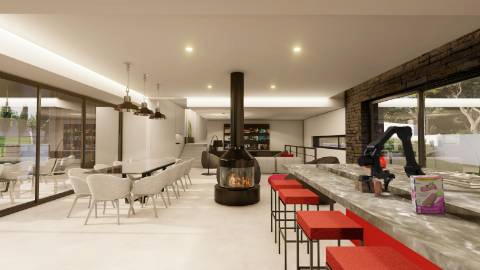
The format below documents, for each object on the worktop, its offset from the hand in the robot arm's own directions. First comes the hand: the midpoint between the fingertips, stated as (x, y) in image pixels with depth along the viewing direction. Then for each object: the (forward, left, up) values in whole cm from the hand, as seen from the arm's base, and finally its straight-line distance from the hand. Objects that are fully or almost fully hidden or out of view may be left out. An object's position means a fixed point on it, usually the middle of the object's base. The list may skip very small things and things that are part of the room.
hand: (377, 191), depth 151 cm
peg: (0, 0, -2) cm, 2 cm away
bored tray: (-11, -8, -2) cm, 14 cm away
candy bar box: (+27, +27, -2) cm, 38 cm away
